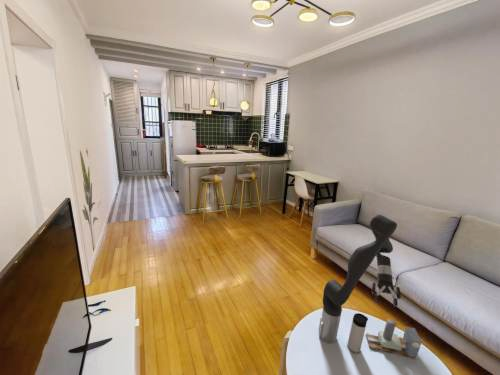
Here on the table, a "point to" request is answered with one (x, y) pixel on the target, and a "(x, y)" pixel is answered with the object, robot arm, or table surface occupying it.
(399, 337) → the button
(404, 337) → the end cabinet
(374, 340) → the track
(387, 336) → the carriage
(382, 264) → the robot arm
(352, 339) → the travel mug
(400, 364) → the table surface
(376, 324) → the table surface
